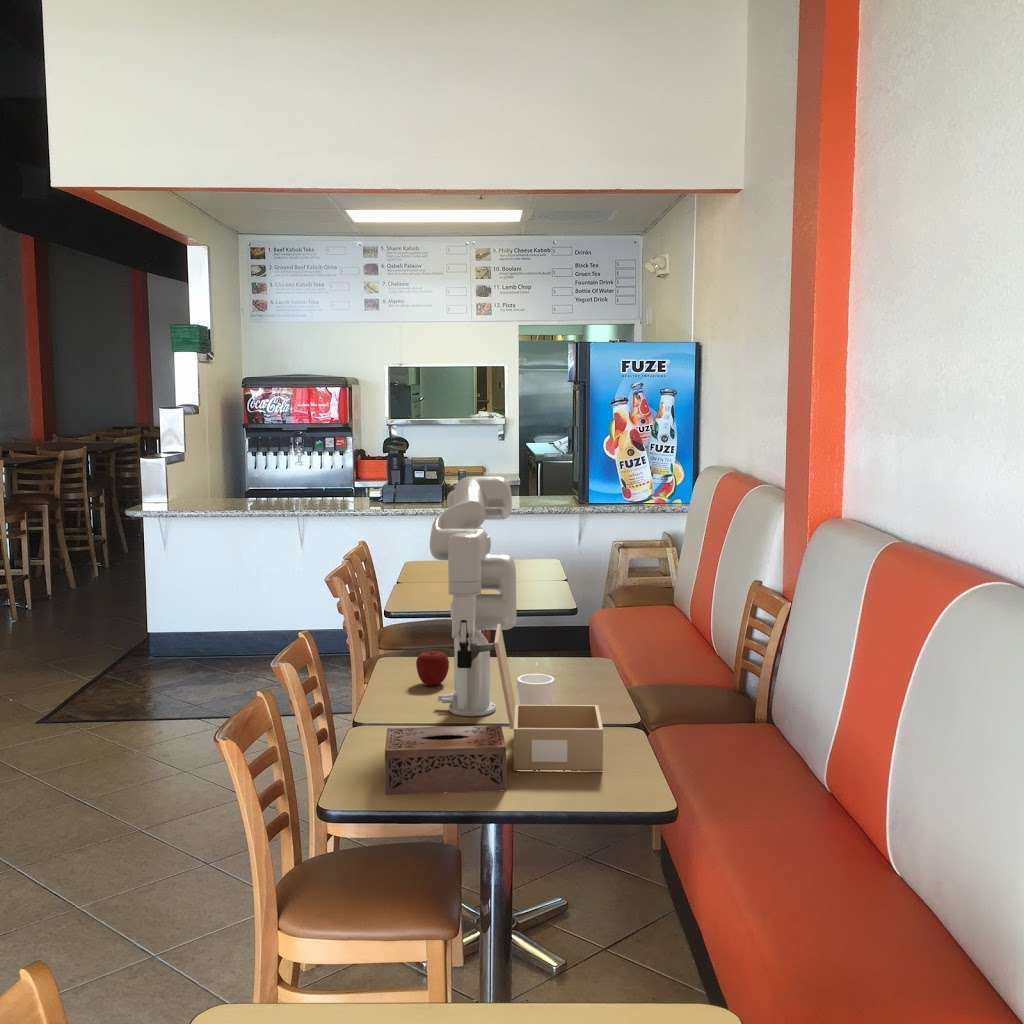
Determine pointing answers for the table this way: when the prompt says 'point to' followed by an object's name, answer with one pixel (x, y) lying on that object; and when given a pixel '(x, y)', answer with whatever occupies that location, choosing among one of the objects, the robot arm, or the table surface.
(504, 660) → the carton lid
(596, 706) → the carton
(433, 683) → the apple
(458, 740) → the tissue box cover
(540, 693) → the foam cup
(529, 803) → the table surface
